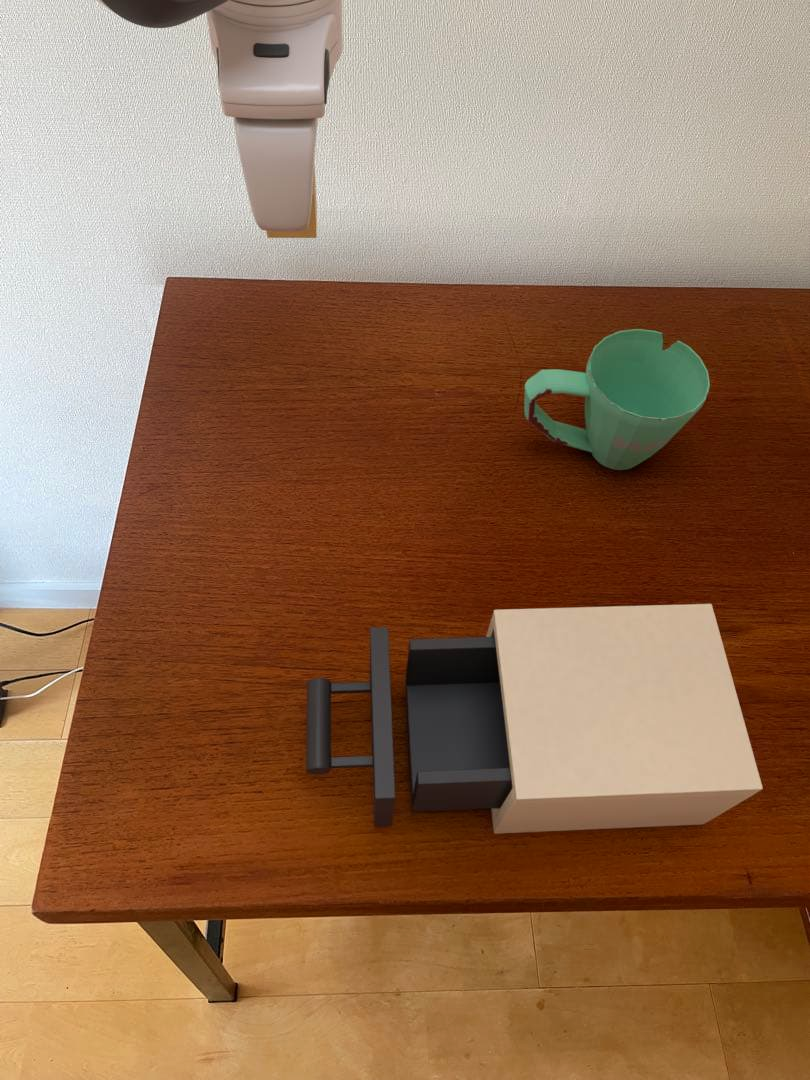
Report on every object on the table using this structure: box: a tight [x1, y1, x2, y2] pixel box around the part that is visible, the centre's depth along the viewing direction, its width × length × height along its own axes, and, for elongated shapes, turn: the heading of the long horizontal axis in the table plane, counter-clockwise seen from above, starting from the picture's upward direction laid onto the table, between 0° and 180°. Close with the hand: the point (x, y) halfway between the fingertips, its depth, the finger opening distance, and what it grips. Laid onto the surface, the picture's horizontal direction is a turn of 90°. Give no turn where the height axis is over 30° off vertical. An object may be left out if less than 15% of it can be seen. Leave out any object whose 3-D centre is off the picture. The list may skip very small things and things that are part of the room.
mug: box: [523, 328, 711, 471], centre depth 68 cm, size 15×10×10 cm
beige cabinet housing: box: [485, 603, 764, 835], centre depth 54 cm, size 15×12×10 cm
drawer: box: [305, 626, 513, 828], centre depth 54 cm, size 18×11×8 cm, turn 93°
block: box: [266, 163, 318, 239], centre depth 64 cm, size 4×4×4 cm
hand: (290, 205), depth 65 cm, fingers closed on block, 4 cm apart
